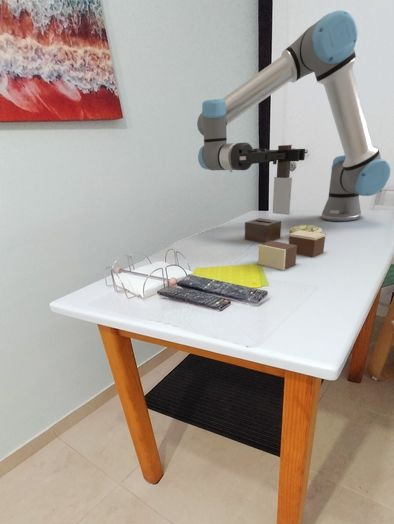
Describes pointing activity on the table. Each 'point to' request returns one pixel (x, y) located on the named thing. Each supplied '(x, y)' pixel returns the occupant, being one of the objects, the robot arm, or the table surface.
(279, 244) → the cake slice
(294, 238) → the cake
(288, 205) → the knife
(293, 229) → the decorated donut
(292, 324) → the table surface
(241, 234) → the table surface
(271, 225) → the knife block
